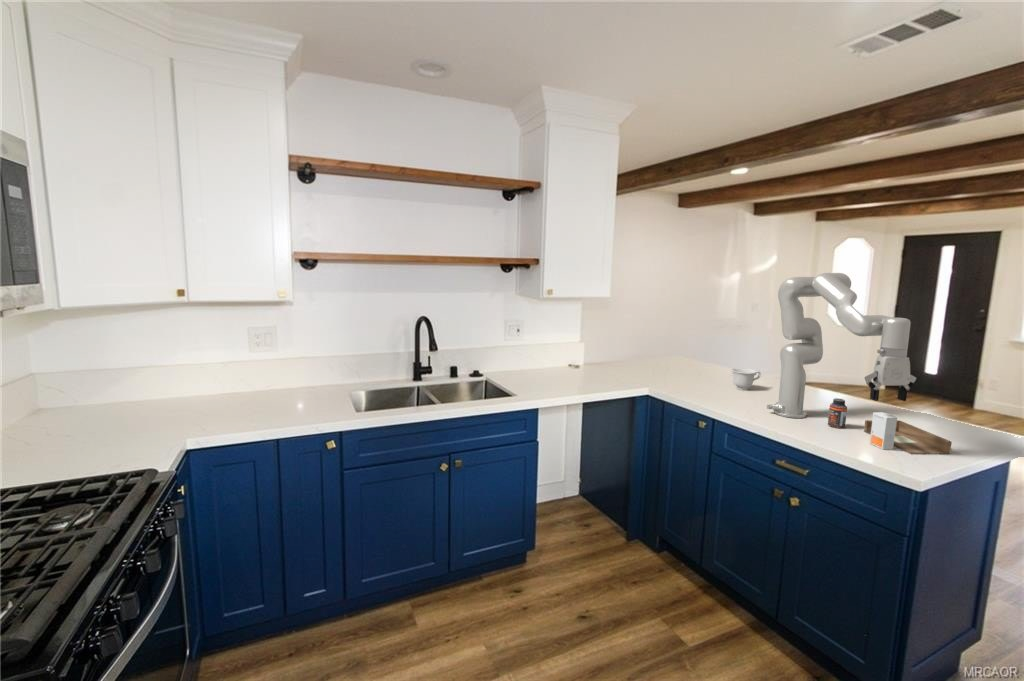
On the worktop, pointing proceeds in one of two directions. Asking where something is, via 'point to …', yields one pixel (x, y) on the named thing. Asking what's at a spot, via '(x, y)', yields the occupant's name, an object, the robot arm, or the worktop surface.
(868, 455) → the worktop surface
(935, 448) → the wooden tray
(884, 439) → the skincare box
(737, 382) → the teacup
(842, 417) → the supplement bottle
